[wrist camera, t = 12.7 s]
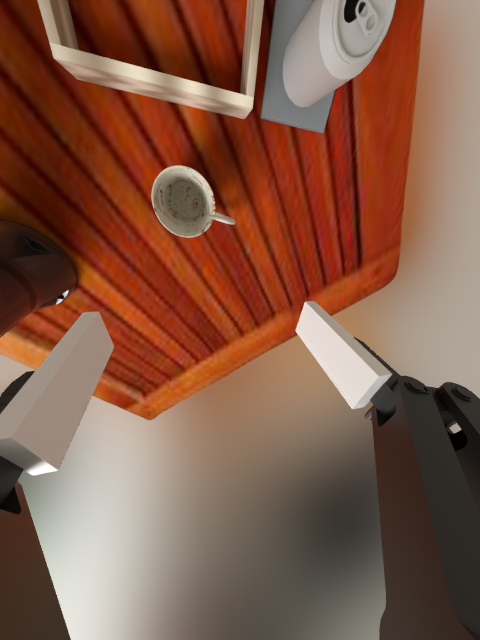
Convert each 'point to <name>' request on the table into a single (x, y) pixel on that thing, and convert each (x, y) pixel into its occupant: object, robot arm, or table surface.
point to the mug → (185, 201)
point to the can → (333, 46)
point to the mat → (276, 103)
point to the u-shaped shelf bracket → (151, 81)
